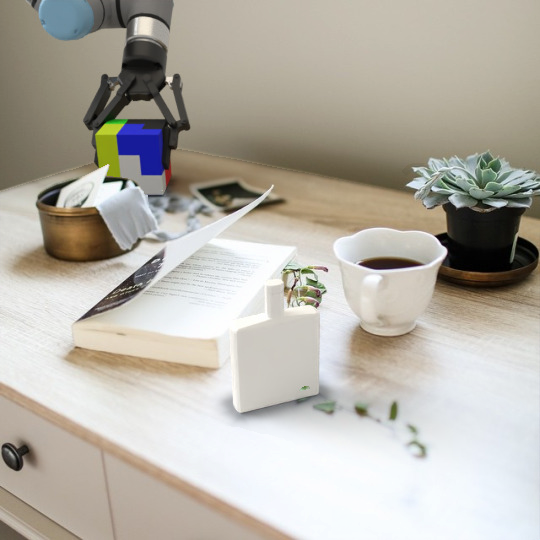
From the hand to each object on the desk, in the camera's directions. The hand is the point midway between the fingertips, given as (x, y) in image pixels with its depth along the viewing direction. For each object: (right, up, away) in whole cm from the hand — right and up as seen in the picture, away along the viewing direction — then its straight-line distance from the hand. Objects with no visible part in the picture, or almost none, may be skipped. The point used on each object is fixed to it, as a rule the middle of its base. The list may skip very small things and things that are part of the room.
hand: (131, 165), depth 110 cm
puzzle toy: (0, -3, +5) cm, 5 cm away
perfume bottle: (+23, -29, -48) cm, 61 cm away
